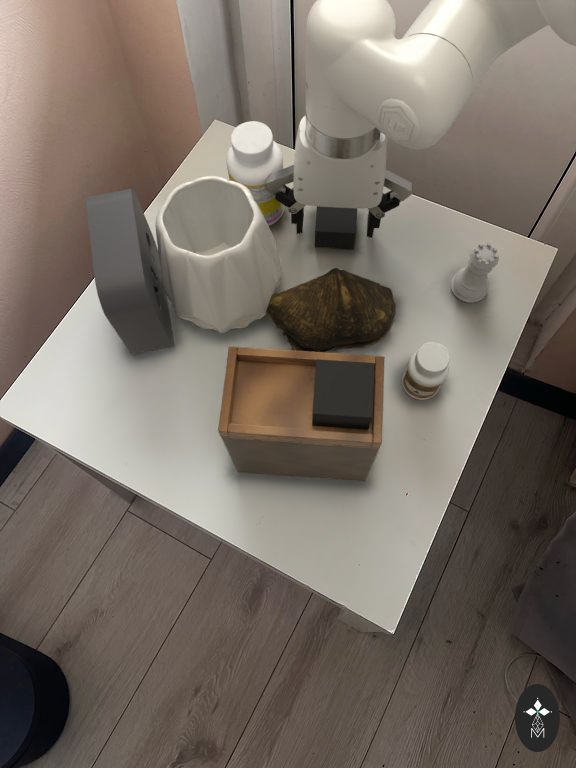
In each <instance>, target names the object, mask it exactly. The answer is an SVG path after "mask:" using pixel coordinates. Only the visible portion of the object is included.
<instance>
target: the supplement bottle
mask: <svg viewBox="0 0 576 768" xmlns="http://www.w3.org/2000/svg"><path fill="white" fill-rule="evenodd" d="M230 143H231V146H230V147H229V149H228V151H227V154H226V159H225V160H226V169H227V174H228V178H229V179H228V180H230V181H234V182H238V183H240V184H242V185H244V186H246V187H247V188H248V189H249V190H250V192H251V194H252V196H253V198H254V201H255V202H256V203H257V204H258V206H259V208H260V210H261V212H262V214H263V216H264V218H265V220H266V222H267V224H268V226H269V227H270V226H272V225H274V224H275V223H277V221H279V220H280V219H281V218H282V216H283V215H284V213H285V210H286V206H285V205H283V204H282V203H280V202H279V201H277V200H276V199H275V195H274V194H273V195H272V194H271V193H270V192H269V191H268V190H267V189H266V188H265V180H266V178H267V177H268V176H269V174H272V173H274V172H277V171H279V170H282V169H284V156H283V153H282V149H281V147H280V146H279V145H278V143H277V142H276V141H275V140H274V137H273V132H272V130H271V129H270V127H269V126H268V125H267V124H265V123H263V122H261V121H256V120H253V121H246V122H243V123H240V124H238V125H237V126H236V127H235V128H234V129H233V131H232V132H231V136H230Z"/></svg>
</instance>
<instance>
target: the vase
mask: <svg viewBox="0 0 576 768" xmlns="http://www.w3.org/2000/svg"><path fill="white" fill-rule="evenodd" d="M154 226H155V236H156V245H157V249H158V253H159V260H160V267H161V282H162V287H163V290H164V291H165V293H166V295H167V299H168V300H169V302H170V303H171V306H172V307H173V309H174V311H175V312H176V314H177V316H178V317H179V318H180V319H181V320H184V321H188V322H191V323H193V324H195V325H196V326H197V327H199V328H201V329H204V330H215V331H217V332H218V333H220V334H221V333H222V334H224V333H228V332H230V331H231V330H232V329H245V328H247V327H248V326H249V325H250V324H251V323H252V322H254V321H257V320H260V319H263V318H264V317H265V316H267V313H266V311H267V308H268V304H269V301H270V299H271V296H272V295H273V294H275V293H278V292H277V291H278V288H279V285H280V283H281V281H282V278H283V269H282V265H281V259H280V254H279V248H278V244H277V242H276V239H275V236H274V235H273V232H272V231H271V228H270V225H269V226H268V224H267V222H266V220H265V218H264V216H263V214H262V212H261V210H260V208H259V206H258V204H257V203H256V202H255V201H254V198H253V196H252V194H251V192H250V190H249V189H248V188H247V187H246V186H244V185H242V184H240V183H238V182H234V181H230V179H227V178H224V177H221V176H219V175H203V176H201V177H200V176H199V177H196V178H195V179H193V180H191V181H185V182H183V183H181V184H179V185H177V186H176V187H174V188H173V189H172V190H171V191H170V192H169V194H168V195H167V196H166V198H165V201H164V202H163V203H162V206H161V207H160V208H159V211H158V213H157V216H156V219H155V225H154Z"/></svg>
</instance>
